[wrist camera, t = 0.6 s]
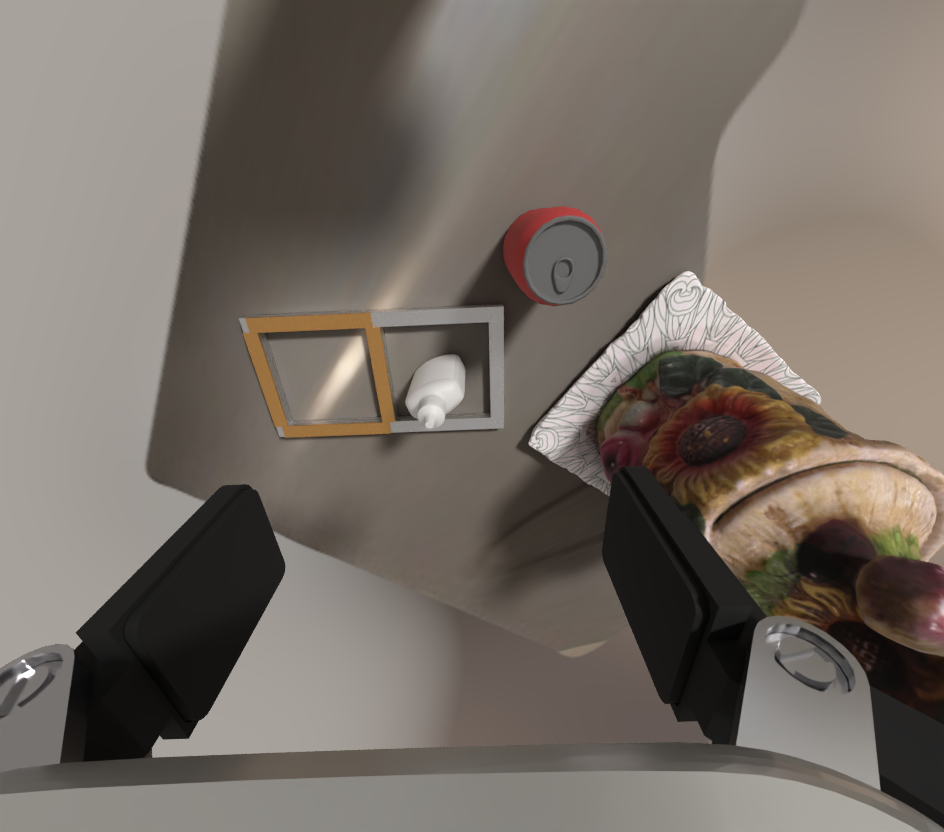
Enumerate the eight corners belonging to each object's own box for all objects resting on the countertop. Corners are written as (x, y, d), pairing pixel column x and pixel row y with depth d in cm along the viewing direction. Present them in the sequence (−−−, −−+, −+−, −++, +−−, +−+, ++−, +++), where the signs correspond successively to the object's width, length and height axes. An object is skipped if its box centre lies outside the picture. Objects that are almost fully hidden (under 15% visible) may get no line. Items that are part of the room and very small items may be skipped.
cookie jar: (818, 394, 43) (1490, 741, 15) (653, 522, 52) (867, 880, 24) (680, 259, 36) (1458, 426, 8) (518, 435, 45) (597, 798, 17)
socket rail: (245, 315, 38) (237, 318, 37) (502, 303, 37) (503, 306, 36) (284, 431, 45) (278, 437, 43) (503, 423, 44) (504, 429, 43)
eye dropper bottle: (414, 350, 40) (394, 398, 29) (466, 354, 40) (465, 404, 29) (414, 386, 42) (395, 444, 31) (463, 390, 42) (461, 449, 32)
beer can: (500, 284, 37) (513, 313, 26) (503, 208, 33) (518, 205, 23) (567, 284, 37) (606, 313, 26) (576, 208, 33) (624, 205, 23)
